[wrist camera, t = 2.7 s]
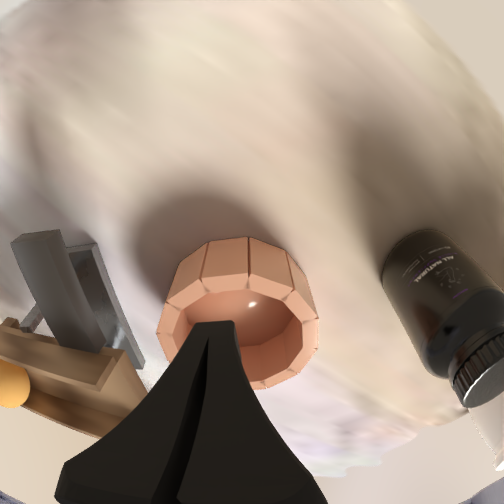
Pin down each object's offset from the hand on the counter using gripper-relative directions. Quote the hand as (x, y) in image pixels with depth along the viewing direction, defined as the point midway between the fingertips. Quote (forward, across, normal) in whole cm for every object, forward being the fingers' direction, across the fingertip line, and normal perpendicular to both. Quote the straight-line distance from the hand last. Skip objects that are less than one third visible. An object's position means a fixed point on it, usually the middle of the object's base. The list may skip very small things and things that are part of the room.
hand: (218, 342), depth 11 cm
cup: (+10, 0, +6) cm, 12 cm away
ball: (+2, +18, +6) cm, 19 cm away
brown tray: (+5, +12, +3) cm, 14 cm away
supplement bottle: (+11, -14, +5) cm, 18 cm away
